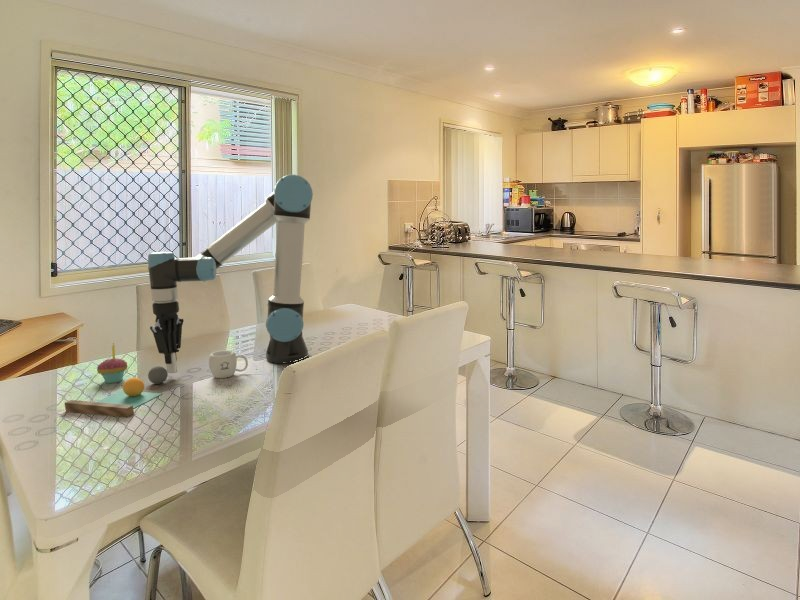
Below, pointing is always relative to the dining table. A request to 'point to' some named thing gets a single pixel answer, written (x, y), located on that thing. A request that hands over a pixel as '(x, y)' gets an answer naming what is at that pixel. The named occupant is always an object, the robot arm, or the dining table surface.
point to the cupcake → (112, 368)
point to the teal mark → (129, 398)
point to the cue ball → (157, 375)
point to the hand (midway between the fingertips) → (172, 372)
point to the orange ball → (133, 387)
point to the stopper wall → (99, 408)
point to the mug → (224, 363)
